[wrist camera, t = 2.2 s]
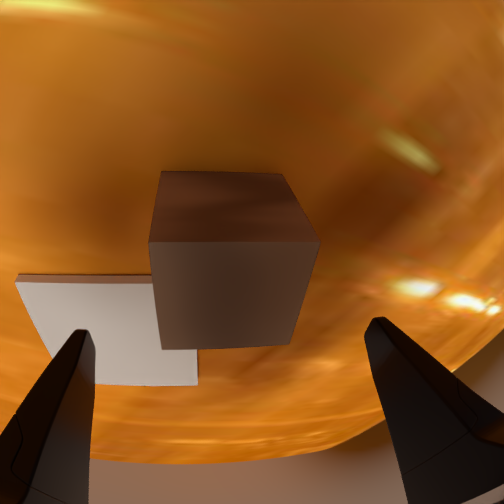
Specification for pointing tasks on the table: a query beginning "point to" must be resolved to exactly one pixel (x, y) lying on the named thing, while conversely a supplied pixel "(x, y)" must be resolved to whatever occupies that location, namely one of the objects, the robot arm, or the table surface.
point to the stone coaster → (108, 326)
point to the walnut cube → (228, 259)
